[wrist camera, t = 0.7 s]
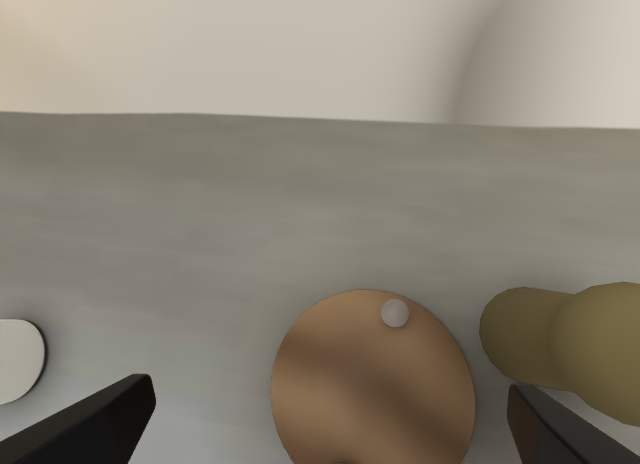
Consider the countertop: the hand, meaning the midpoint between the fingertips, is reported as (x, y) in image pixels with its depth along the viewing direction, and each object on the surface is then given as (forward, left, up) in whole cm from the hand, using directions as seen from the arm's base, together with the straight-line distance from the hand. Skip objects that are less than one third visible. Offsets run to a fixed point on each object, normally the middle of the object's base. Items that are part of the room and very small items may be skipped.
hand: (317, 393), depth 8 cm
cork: (+4, -10, -16) cm, 19 cm away
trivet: (-3, -2, -16) cm, 16 cm away
